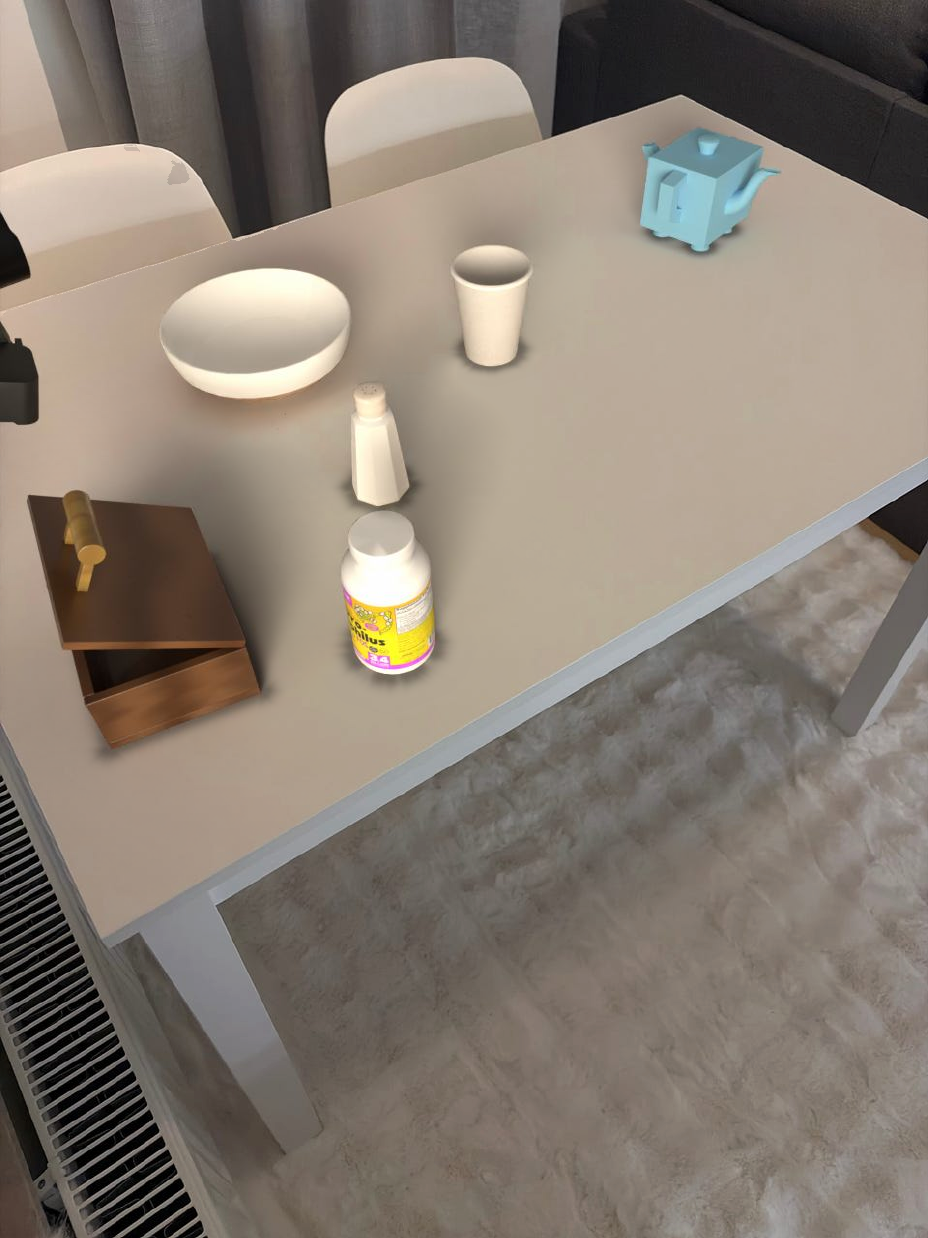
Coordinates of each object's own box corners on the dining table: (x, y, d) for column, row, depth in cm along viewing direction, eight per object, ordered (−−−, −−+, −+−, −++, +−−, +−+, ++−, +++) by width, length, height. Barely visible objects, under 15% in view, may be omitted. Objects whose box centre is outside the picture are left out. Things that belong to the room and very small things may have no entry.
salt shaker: (348, 506, 84) (332, 409, 76) (356, 467, 88) (341, 370, 79) (406, 507, 84) (397, 410, 76) (412, 468, 87) (404, 371, 79)
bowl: (135, 390, 96) (117, 339, 92) (252, 300, 107) (241, 250, 102) (283, 448, 90) (272, 397, 85) (392, 347, 100) (387, 296, 96)
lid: (61, 650, 59) (75, 593, 56) (26, 501, 68) (36, 446, 65) (243, 647, 67) (263, 597, 64) (189, 513, 76) (205, 464, 73)
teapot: (669, 188, 122) (682, 97, 114) (791, 230, 115) (816, 136, 106) (599, 235, 115) (609, 141, 106) (725, 283, 107) (746, 187, 98)
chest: (111, 749, 68) (85, 705, 64) (74, 606, 77) (49, 559, 73) (261, 693, 71) (245, 647, 67) (208, 561, 80) (192, 513, 76)
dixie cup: (525, 376, 96) (528, 289, 89) (447, 370, 97) (443, 284, 90) (533, 331, 102) (537, 246, 94) (459, 326, 103) (457, 240, 95)
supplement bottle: (338, 639, 74) (315, 526, 64) (405, 601, 77) (392, 486, 67) (384, 692, 71) (367, 582, 61) (452, 650, 73) (447, 537, 63)
